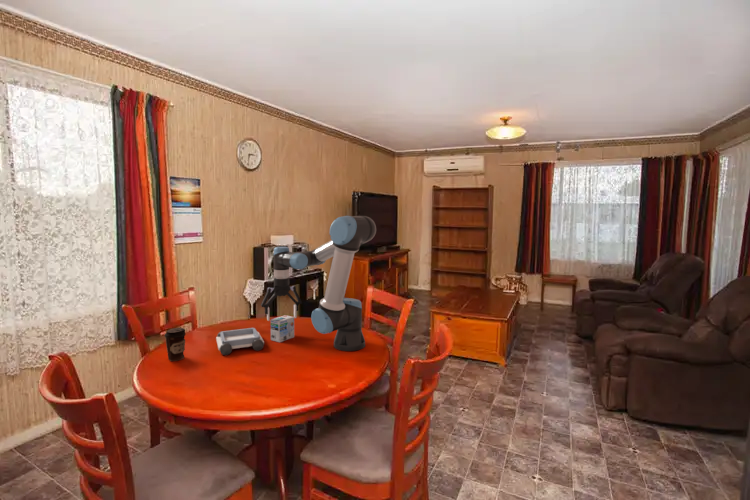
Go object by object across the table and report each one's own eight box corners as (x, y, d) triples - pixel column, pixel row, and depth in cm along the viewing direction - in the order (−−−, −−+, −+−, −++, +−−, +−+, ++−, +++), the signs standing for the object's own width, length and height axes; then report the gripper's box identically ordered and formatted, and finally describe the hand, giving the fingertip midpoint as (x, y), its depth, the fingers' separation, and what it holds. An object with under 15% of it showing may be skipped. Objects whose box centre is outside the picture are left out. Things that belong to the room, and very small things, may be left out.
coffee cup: (191, 357, 173) (190, 328, 171) (175, 363, 165) (173, 334, 164) (178, 354, 176) (176, 326, 175) (161, 360, 169) (159, 331, 167)
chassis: (264, 349, 182) (264, 338, 182) (219, 356, 174) (218, 344, 173) (257, 336, 201) (257, 325, 201) (216, 341, 193) (215, 330, 192)
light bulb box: (279, 342, 192) (279, 321, 191) (270, 340, 196) (269, 319, 195) (295, 336, 201) (294, 316, 200) (285, 334, 205) (285, 314, 204)
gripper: (304, 274, 204) (304, 314, 206) (254, 277, 193) (255, 319, 196) (307, 277, 197) (307, 318, 200) (257, 280, 187) (257, 323, 189)
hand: (281, 318), depth 198 cm, fingers open, 13 cm apart
